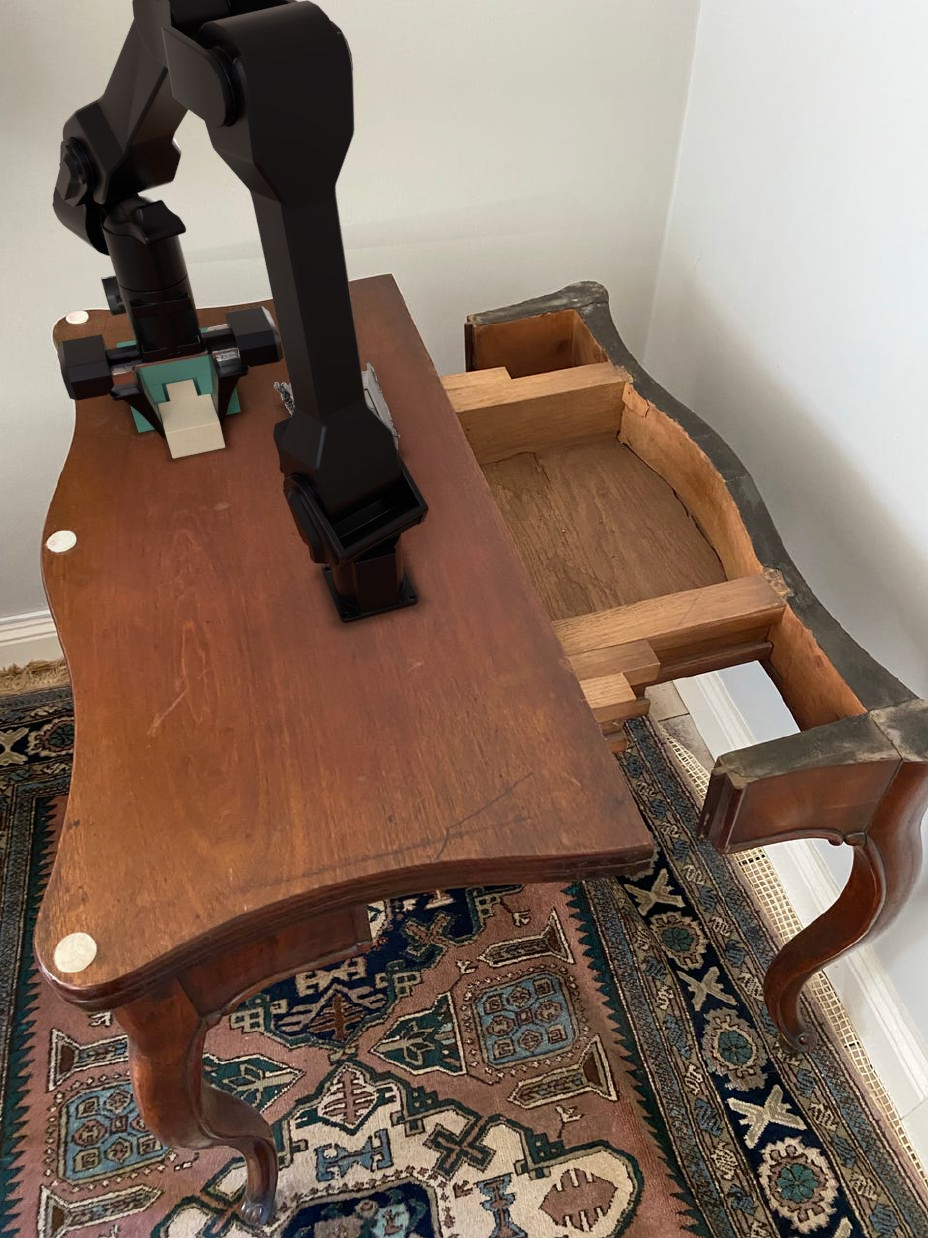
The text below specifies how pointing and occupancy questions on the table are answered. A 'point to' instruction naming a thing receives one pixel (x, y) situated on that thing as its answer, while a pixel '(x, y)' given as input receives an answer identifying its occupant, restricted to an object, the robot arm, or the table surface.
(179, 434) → the cream tabbed block
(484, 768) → the table surface
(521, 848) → the table surface
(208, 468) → the table surface
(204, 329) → the teal pad
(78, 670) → the table surface
